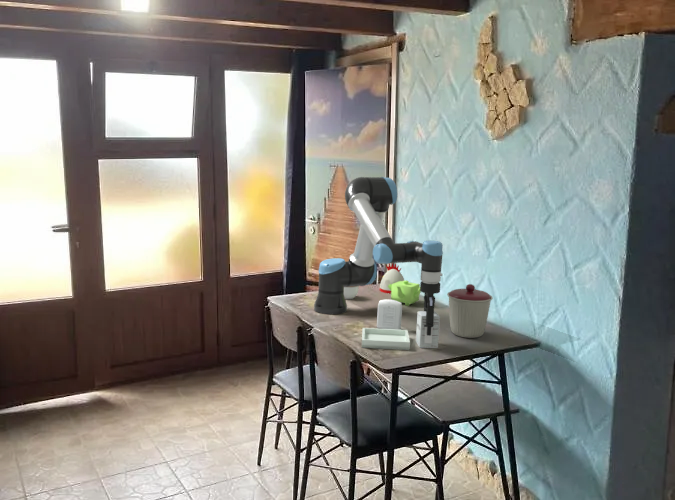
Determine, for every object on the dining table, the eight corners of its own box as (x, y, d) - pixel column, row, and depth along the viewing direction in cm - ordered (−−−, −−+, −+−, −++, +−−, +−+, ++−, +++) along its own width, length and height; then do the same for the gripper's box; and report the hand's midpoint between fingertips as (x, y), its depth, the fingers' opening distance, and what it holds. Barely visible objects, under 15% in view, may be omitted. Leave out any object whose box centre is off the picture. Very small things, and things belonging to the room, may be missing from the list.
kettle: (424, 306, 301) (425, 283, 299) (396, 307, 298) (397, 284, 296) (413, 299, 316) (414, 277, 314) (386, 299, 312) (387, 277, 310)
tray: (361, 347, 237) (361, 339, 237) (362, 334, 253) (362, 327, 252) (409, 350, 236) (409, 342, 236) (407, 337, 252) (407, 329, 252)
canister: (435, 332, 261) (438, 282, 257) (465, 325, 271) (468, 277, 268) (468, 343, 246) (472, 291, 243) (498, 336, 257) (503, 286, 253)
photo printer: (401, 328, 264) (403, 299, 262) (399, 331, 260) (401, 302, 258) (378, 325, 267) (379, 297, 265) (375, 328, 263) (376, 299, 261)
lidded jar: (335, 295, 318) (336, 277, 316) (356, 295, 319) (357, 277, 318) (338, 300, 307) (338, 281, 306) (359, 300, 309) (360, 281, 307)
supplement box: (415, 342, 246) (417, 310, 244) (433, 342, 247) (435, 310, 245) (419, 348, 239) (421, 315, 237) (438, 348, 240) (440, 316, 237)
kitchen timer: (383, 286, 341) (384, 259, 338) (408, 289, 336) (409, 262, 334) (376, 292, 328) (377, 264, 325) (402, 295, 323) (404, 266, 321)
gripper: (443, 288, 228) (439, 348, 232) (437, 276, 249) (434, 332, 252) (422, 287, 229) (419, 347, 233) (418, 275, 249) (415, 331, 253)
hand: (426, 339), depth 243 cm, fingers closed on supplement box, 8 cm apart
